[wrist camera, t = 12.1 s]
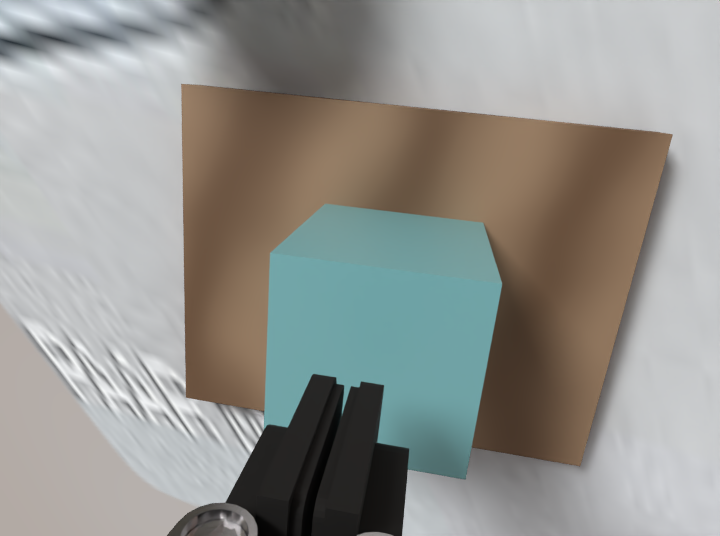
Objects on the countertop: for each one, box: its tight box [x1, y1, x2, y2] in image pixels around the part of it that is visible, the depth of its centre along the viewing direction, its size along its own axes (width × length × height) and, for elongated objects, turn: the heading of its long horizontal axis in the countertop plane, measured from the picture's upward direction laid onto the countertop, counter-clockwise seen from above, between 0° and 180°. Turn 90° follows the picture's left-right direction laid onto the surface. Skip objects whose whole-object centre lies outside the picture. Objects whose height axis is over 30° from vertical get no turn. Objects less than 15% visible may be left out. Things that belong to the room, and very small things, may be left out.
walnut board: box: [181, 84, 672, 466], centre depth 22 cm, size 18×14×2 cm
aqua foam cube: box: [264, 204, 502, 479], centre depth 18 cm, size 6×6×7 cm
